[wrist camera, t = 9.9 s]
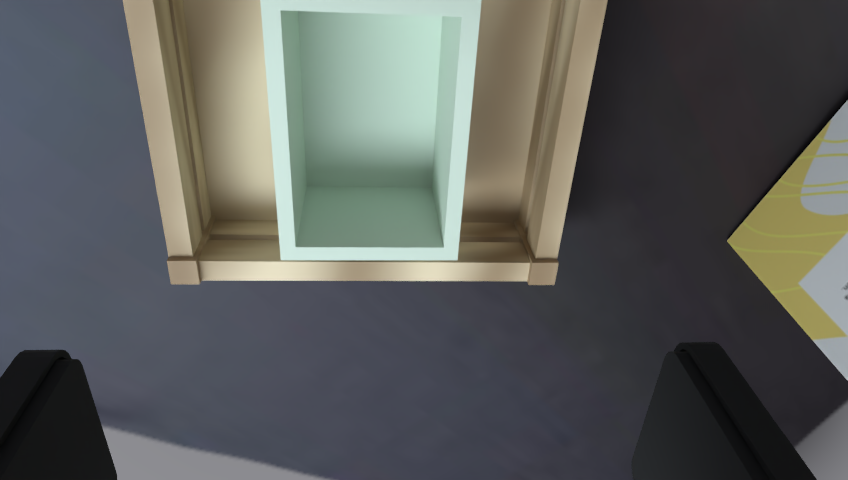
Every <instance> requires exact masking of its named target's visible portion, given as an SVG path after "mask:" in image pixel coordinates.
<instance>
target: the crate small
mask: <svg viewBox="0 0 848 480" xmlns="http://www.w3.org/2000/svg"><path fill="white" fill-rule="evenodd" d="M481 1H482V0H260V3H261V16H262V28H263V41H264V54H265V66H266V79H267V92H268V105H269V117H270V130H271V143H272V155H273V168H274V181H275V193H276V206H277V219H278V232H279V244H280V257H281V260H458V249H459V239H460V228H461V217H462V206H463V195H464V185H465V174H466V163H467V152H468V141H469V131H470V120H471V109H472V98H473V87H474V76H475V66H476V55H477V44H478V33H479V22H480V12H481Z"/></svg>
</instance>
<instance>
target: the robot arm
mask: <svg viewBox="0 0 848 480" xmlns="http://www.w3.org/2000/svg"><path fill="white" fill-rule="evenodd" d="M632 474H633V479H634V480H816V478H815V477H814V475H813V474H812V472H811V471H810V469H809V468H808V467H807V465H806V464H805V463H804V461H803V460H802V459H801V457H800V455H799V454H798V453H797V451H796V450H795V448H794V447H793V446H792V444H791V443H790V441H789V440H788V439H787V437H786V436H785V435H784V434H783V432H782V431H781V430H780V428H779V427H778V425H777V424H776V422H775V421H774V420H773V418H772V417H771V415H770V414H769V413H768V411H767V410H766V408H765V407H764V406H763V404H762V403H761V401H760V400H759V399H758V397H757V396H756V394H755V393H754V392H753V390H752V389H751V387H750V386H749V385H748V383H747V382H746V380H745V379H744V378H743V376H742V375H741V373H740V372H739V371H738V369H737V368H736V366H735V365H734V364H733V362H732V361H731V359H730V358H729V357H728V355H727V354H726V352H725V351H724V350H723V348H722V347H721V346H720V345H719V344H717V343H715V342H692V343H679V344H678V345H677V346H676V348H675V350H674V352H668V353H667V354H666V356H665V358H664V361H663V365H662V368H661V371H660V374H659V377H658V380H657V383H656V386H655V389H654V393H653V396H652V399H651V402H650V405H649V408H648V411H647V414H646V417H645V421H644V424H643V427H642V430H641V433H640V436H639V439H638V442H637V445H636V448H635V452H634V455H633V458H632ZM0 480H117V474H116V470H115V467H114V464H113V460H112V457H111V454H110V451H109V448H108V445H107V441H106V438H105V435H104V432H103V429H102V426H101V422H100V419H99V416H98V413H97V410H96V407H95V404H94V400H93V397H92V394H91V391H90V388H89V385H88V382H87V378H86V375H85V372H84V369H83V366H82V364H81V362H80V361H79V360H77V359H71V357H70V355H69V353H68V352H67V351H65V350H24V351H22V352H20V353H19V354H18V355H17V356H16V357H15V358H14V360H13V361H12V363H11V364H10V365H9V367H8V368H7V369H6V371H5V372H4V374H3V375H2V376H1V378H0Z"/></svg>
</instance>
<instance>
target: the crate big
mask: <svg viewBox="0 0 848 480" xmlns="http://www.w3.org/2000/svg"><path fill="white" fill-rule="evenodd" d="M607 1H608V0H482V1H481V12H480V22H479V33H478V44H477V55H476V66H475V76H474V87H473V98H472V109H471V120H470V131H469V141H468V152H467V163H466V174H465V185H464V195H463V206H462V217H461V228H460V239H459V249H458V260H281V257H280V244H279V232H278V219H277V206H276V193H275V181H274V168H273V155H272V143H271V130H270V117H269V105H268V92H267V79H266V66H265V54H264V41H263V28H262V16H261V3H260V0H123V4H124V10H125V15H126V21H127V27H128V32H129V38H130V43H131V49H132V54H133V60H134V66H135V71H136V77H137V82H138V88H139V94H140V99H141V105H142V110H143V116H144V122H145V127H146V133H147V138H148V144H149V149H150V155H151V161H152V166H153V172H154V177H155V183H156V189H157V194H158V200H159V205H160V211H161V216H162V222H163V228H164V233H165V239H166V244H167V250H168V256H169V258H168V260H167V264H168V270H169V275H170V281H171V284H200V282H201V280H244V281H527V282H528V285H554V284H555V279H556V274H557V268H558V261H557V256H558V251H559V246H560V241H561V236H562V231H563V225H564V220H565V215H566V210H567V205H568V200H569V195H570V190H571V185H572V180H573V174H574V169H575V164H576V159H577V154H578V149H579V144H580V139H581V134H582V128H583V123H584V118H585V113H586V108H587V103H588V98H589V93H590V88H591V83H592V77H593V72H594V67H595V62H596V57H597V52H598V47H599V42H600V37H601V31H602V26H603V21H604V16H605V11H606V6H607Z"/></svg>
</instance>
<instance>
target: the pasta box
mask: <svg viewBox="0 0 848 480" xmlns="http://www.w3.org/2000/svg"><path fill="white" fill-rule="evenodd" d="M727 242H728V243H729V244H730V245H731V246H732V248H733V249H734V250H735V251H736V252H737V253H738V255H739V256H740V257H741V258H742V259H743V260H744V261H745V263H746V264H747V265H748V266H749V267H750V268H751V270H752V271H753V272H754V273H755V274H756V275H757V276H758V278H759V279H760V280H761V281H762V282H763V283H764V285H765V286H766V287H767V288H768V289H769V290H770V292H771V293H772V294H773V295H774V296H775V297H776V298H777V300H778V301H779V302H780V303H781V304H782V305H783V307H784V308H785V309H786V310H787V311H788V312H789V313H790V315H791V316H792V317H793V318H794V319H795V320H796V322H797V323H798V324H799V325H800V326H801V327H802V329H803V330H804V331H805V332H806V333H807V334H808V335H809V337H810V338H811V339H812V340H813V341H814V342H815V344H816V345H817V346H818V347H819V348H820V349H821V350H822V352H823V353H824V354H825V355H826V356H827V357H828V359H829V360H830V361H831V362H832V363H833V364H834V366H835V367H836V368H837V369H838V370H839V371H840V372H841V374H842V375H843V376H844V377H845V378H846V379H847V381H848V100H847V101H846V103H845V104H844V105H843V106H842V107H841V108H840V110H839V111H838V112H837V113H836V114H835V115H834V117H833V118H832V119H831V120H830V121H829V122H828V124H827V125H826V126H825V127H824V128H823V129H822V130H821V132H820V133H819V134H818V135H817V136H816V137H815V139H814V140H813V141H812V142H811V143H810V144H809V146H808V147H807V148H806V149H805V150H804V151H803V153H802V154H801V155H800V156H799V157H798V158H797V160H796V161H795V162H794V163H793V164H792V165H791V167H790V168H789V169H788V170H787V171H786V172H785V174H784V175H783V176H782V177H781V178H780V179H779V181H778V182H777V183H776V184H775V185H774V186H773V188H772V189H771V190H770V191H769V192H768V193H767V195H766V196H765V197H764V198H763V199H762V200H761V202H760V203H759V204H758V205H757V206H756V207H755V209H754V210H753V211H752V212H751V213H750V214H749V216H748V217H747V218H746V219H745V220H744V221H743V223H742V224H741V225H740V226H739V227H738V228H737V230H736V231H735V232H734V233H733V234H732V235H731V236H730V238H729V239H728V240H727Z"/></svg>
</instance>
